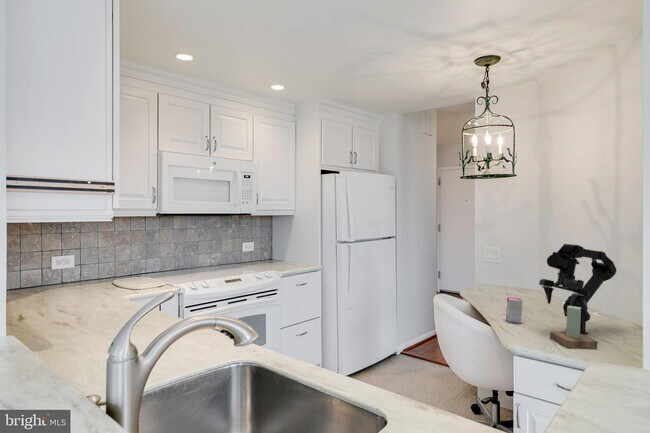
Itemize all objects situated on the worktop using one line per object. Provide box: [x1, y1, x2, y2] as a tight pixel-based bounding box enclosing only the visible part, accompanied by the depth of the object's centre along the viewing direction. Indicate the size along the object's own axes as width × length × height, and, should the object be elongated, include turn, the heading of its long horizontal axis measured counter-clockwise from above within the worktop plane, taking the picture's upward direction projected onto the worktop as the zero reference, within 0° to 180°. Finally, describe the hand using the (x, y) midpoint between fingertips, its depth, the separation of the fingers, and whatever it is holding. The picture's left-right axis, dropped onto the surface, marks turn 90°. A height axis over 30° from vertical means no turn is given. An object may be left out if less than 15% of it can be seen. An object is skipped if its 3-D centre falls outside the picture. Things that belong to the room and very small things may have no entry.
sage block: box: [565, 306, 581, 339], centre depth 166 cm, size 4×4×12 cm
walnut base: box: [549, 331, 598, 350], centre depth 167 cm, size 12×12×3 cm
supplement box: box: [505, 296, 523, 325], centre depth 197 cm, size 6×6×12 cm
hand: (559, 306), depth 179 cm, fingers open, 9 cm apart
